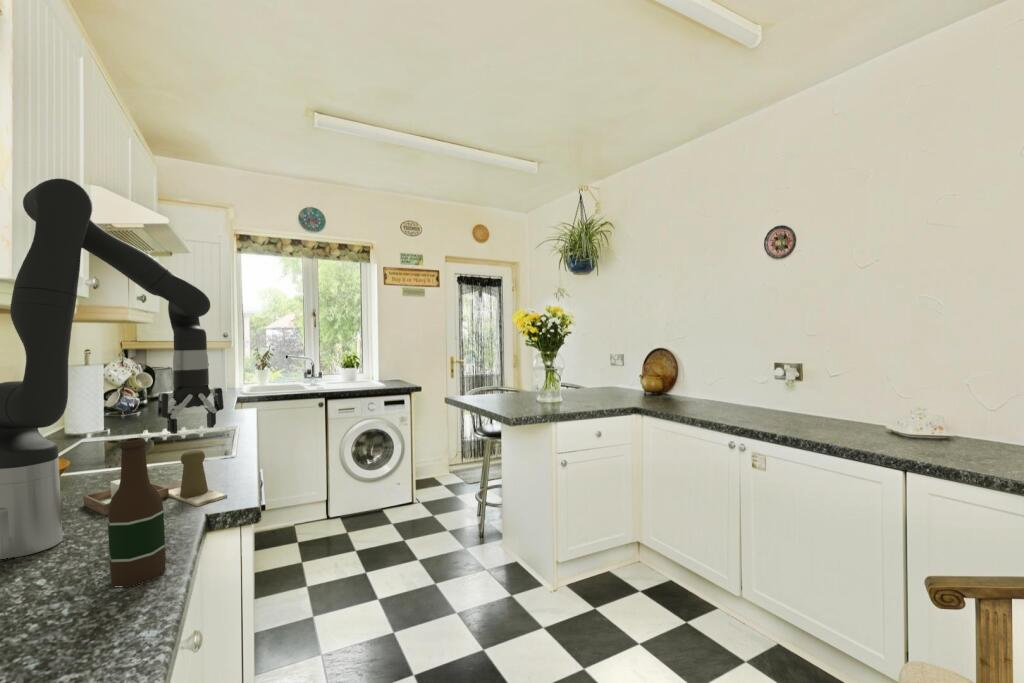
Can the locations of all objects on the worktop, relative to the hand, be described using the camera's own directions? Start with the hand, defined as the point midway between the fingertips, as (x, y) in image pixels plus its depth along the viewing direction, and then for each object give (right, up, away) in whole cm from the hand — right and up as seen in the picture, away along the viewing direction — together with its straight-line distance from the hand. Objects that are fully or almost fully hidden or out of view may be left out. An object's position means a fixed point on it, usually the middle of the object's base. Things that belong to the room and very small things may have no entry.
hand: (192, 430), depth 119 cm
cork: (0, -17, +1) cm, 17 cm away
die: (-15, -17, -3) cm, 23 cm away
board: (-3, -17, +2) cm, 17 cm away
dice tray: (-15, -18, -3) cm, 23 cm away
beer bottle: (+18, -18, -39) cm, 47 cm away
